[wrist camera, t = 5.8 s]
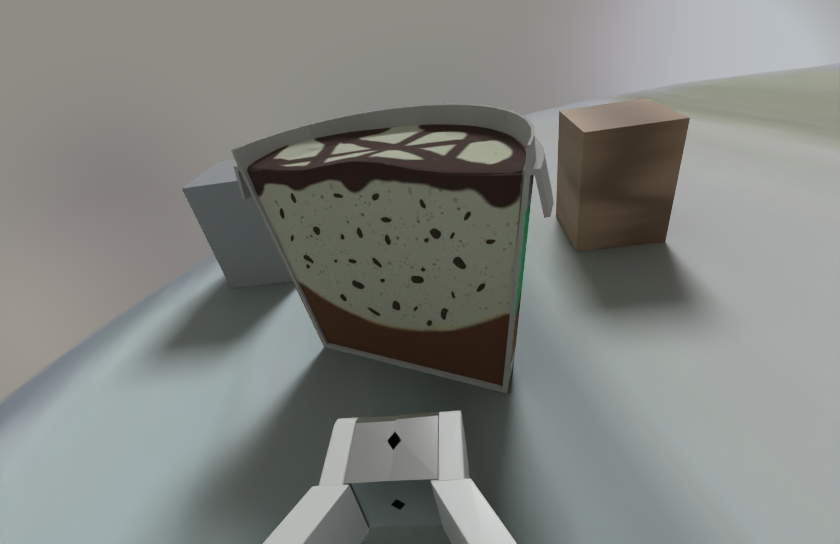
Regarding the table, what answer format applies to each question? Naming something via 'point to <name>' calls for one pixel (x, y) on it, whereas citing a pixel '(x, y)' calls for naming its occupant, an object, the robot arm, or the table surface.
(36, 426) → the table surface
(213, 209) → the slate block
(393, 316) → the food container
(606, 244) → the walnut block
